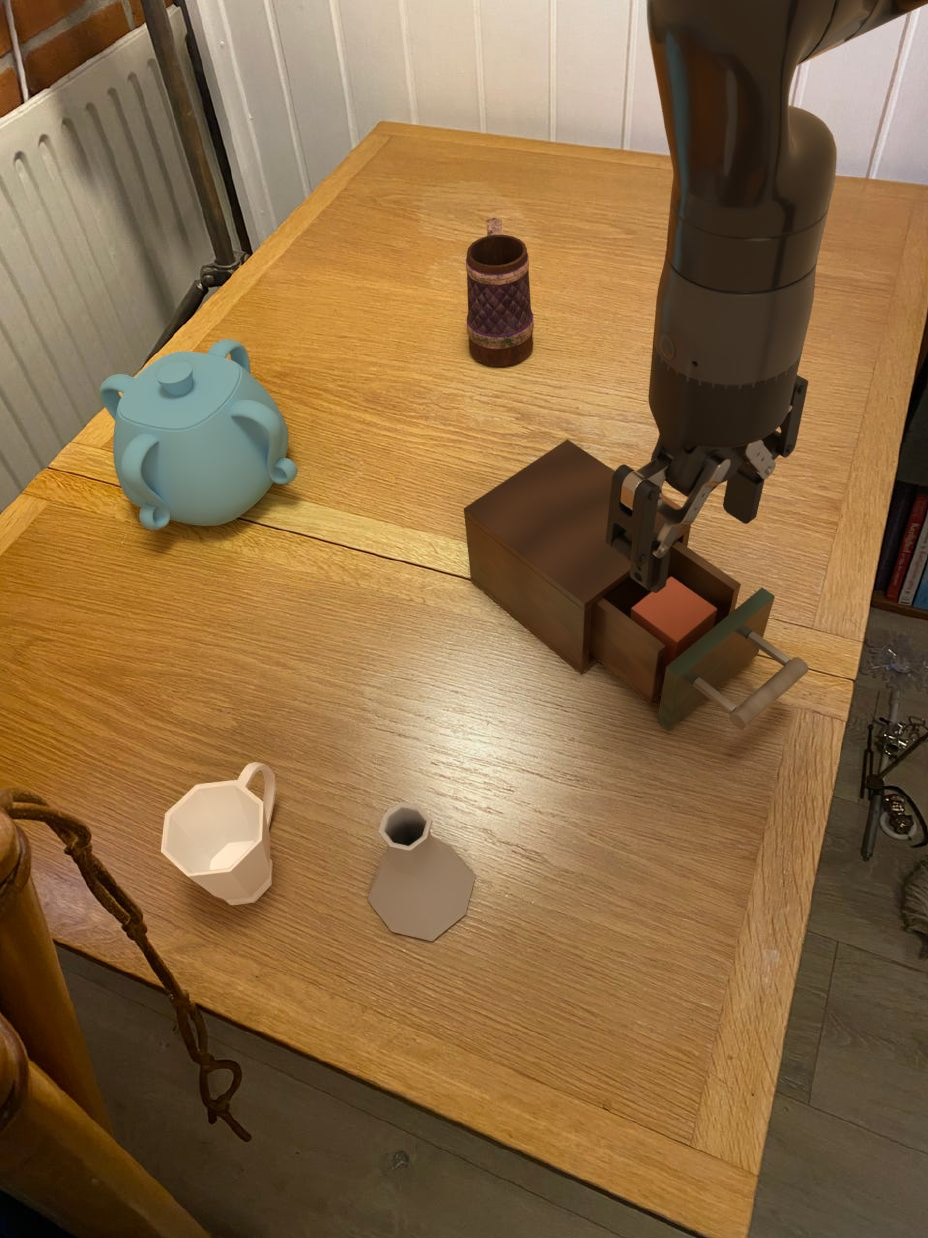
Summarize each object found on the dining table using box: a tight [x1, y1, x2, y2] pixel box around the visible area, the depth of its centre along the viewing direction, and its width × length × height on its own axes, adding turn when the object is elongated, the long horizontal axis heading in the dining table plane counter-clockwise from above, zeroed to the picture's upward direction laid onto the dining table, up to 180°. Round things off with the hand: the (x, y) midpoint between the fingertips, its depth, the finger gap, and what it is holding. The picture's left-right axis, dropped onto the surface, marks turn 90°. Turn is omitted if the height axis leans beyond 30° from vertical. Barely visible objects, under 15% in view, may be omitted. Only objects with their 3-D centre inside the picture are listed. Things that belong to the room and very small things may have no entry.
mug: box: [465, 217, 535, 367], centre depth 100 cm, size 10×7×12 cm
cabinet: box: [463, 438, 692, 675], centre depth 78 cm, size 14×12×9 cm
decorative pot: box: [98, 338, 298, 531], centre depth 88 cm, size 16×16×14 cm
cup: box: [160, 761, 277, 906], centre depth 66 cm, size 7×10×8 cm
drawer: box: [589, 540, 809, 732], centre depth 73 cm, size 17×10×7 cm, turn 41°
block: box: [630, 577, 717, 676], centre depth 73 cm, size 4×4×5 cm
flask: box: [367, 801, 476, 942], centre depth 62 cm, size 7×7×10 cm
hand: (694, 548), depth 61 cm, fingers open, 8 cm apart
